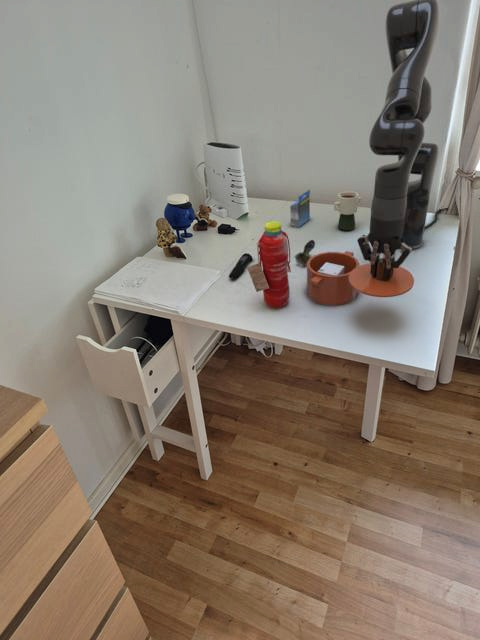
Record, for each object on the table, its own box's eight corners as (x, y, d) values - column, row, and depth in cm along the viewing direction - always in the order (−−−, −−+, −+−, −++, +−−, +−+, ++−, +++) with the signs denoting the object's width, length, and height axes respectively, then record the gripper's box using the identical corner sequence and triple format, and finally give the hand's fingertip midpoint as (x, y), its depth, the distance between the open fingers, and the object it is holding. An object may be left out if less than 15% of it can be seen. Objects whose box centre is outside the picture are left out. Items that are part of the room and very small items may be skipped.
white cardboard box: (344, 287, 131) (345, 265, 127) (336, 297, 127) (337, 275, 123) (325, 282, 134) (326, 261, 130) (316, 292, 130) (317, 271, 126)
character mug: (354, 221, 169) (356, 188, 161) (364, 228, 163) (367, 194, 156) (328, 227, 167) (329, 194, 159) (337, 235, 161) (339, 200, 153)
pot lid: (336, 287, 111) (337, 266, 107) (366, 261, 120) (368, 240, 116) (396, 306, 102) (400, 284, 98) (423, 276, 111) (427, 254, 107)
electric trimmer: (226, 281, 142) (225, 273, 140) (243, 258, 153) (242, 250, 151) (236, 283, 140) (235, 274, 138) (253, 259, 151) (252, 251, 150)
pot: (292, 300, 129) (291, 272, 124) (328, 270, 141) (328, 244, 135) (336, 315, 121) (337, 286, 115) (370, 283, 133) (372, 255, 127)
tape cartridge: (301, 217, 177) (301, 187, 169) (310, 219, 175) (310, 189, 167) (290, 226, 171) (289, 195, 164) (299, 228, 169) (298, 197, 162)
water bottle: (257, 316, 124) (250, 235, 109) (248, 302, 130) (241, 223, 116) (296, 306, 126) (295, 225, 112) (286, 292, 133) (283, 214, 118)
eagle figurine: (321, 263, 143) (320, 246, 149) (310, 249, 139) (308, 232, 145) (302, 273, 147) (301, 256, 153) (290, 260, 143) (289, 243, 149)
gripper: (425, 212, 98) (414, 278, 108) (367, 201, 106) (362, 264, 116) (411, 225, 94) (401, 292, 104) (352, 213, 102) (348, 277, 112)
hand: (380, 277), depth 110 cm, fingers closed on pot lid, 2 cm apart
